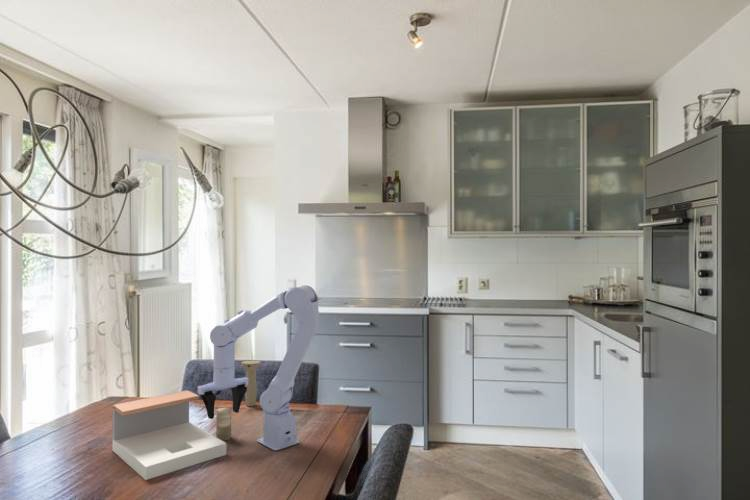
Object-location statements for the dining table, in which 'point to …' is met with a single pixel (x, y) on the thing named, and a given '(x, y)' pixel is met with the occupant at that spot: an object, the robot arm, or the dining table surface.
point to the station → (161, 435)
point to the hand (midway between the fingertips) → (223, 414)
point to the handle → (251, 381)
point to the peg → (223, 424)
